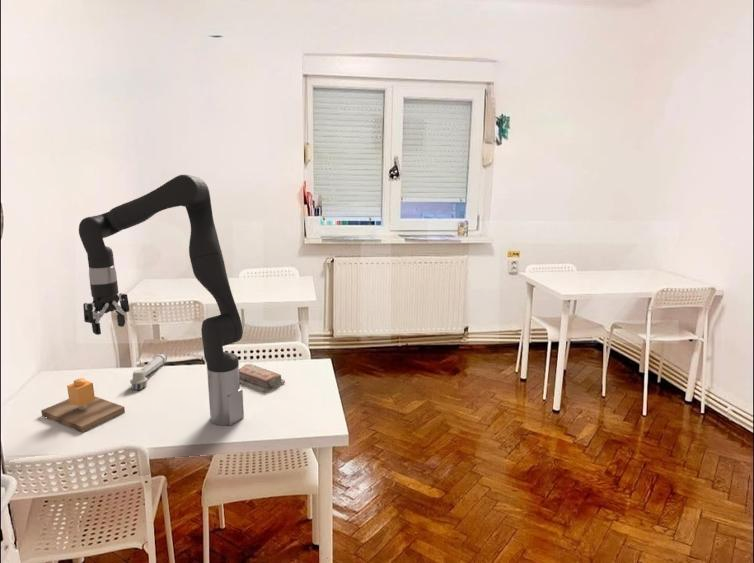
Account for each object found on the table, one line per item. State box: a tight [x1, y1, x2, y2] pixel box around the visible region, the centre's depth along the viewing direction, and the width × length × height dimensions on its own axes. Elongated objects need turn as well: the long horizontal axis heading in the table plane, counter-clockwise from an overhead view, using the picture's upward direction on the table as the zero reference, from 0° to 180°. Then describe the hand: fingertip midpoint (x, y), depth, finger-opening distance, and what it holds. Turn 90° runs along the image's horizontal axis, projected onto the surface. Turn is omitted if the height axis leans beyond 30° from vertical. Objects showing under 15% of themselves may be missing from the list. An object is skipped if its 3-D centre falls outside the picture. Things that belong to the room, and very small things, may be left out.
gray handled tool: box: [129, 353, 168, 391], centre depth 192 cm, size 5×7×25 cm
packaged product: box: [239, 363, 286, 394], centre depth 189 cm, size 18×5×10 cm
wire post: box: [79, 404, 87, 410], centre depth 163 cm, size 2×2×7 cm
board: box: [41, 396, 126, 433], centre depth 164 cm, size 20×14×2 cm
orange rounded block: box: [66, 377, 96, 406], centre depth 162 cm, size 5×5×7 cm
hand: (109, 330), depth 167 cm, fingers open, 8 cm apart
